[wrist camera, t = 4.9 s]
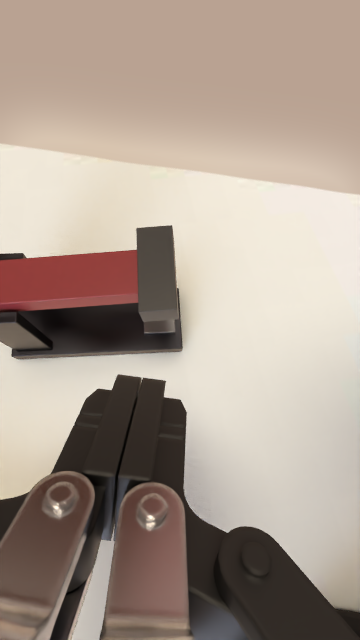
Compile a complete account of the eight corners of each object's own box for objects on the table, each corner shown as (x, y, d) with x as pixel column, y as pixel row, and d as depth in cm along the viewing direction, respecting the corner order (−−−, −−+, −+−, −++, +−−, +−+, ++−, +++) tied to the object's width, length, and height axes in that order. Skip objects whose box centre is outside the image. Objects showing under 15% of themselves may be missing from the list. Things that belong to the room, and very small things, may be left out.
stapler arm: (173, 241, 24) (172, 225, 22) (178, 319, 22) (177, 309, 20) (1, 254, 24) (-16, 239, 22) (-9, 333, 22) (-28, 324, 20)
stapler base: (177, 292, 33) (184, 244, 24) (181, 351, 31) (190, 321, 23) (22, 297, 32) (-28, 249, 23) (16, 359, 30) (-41, 330, 21)
